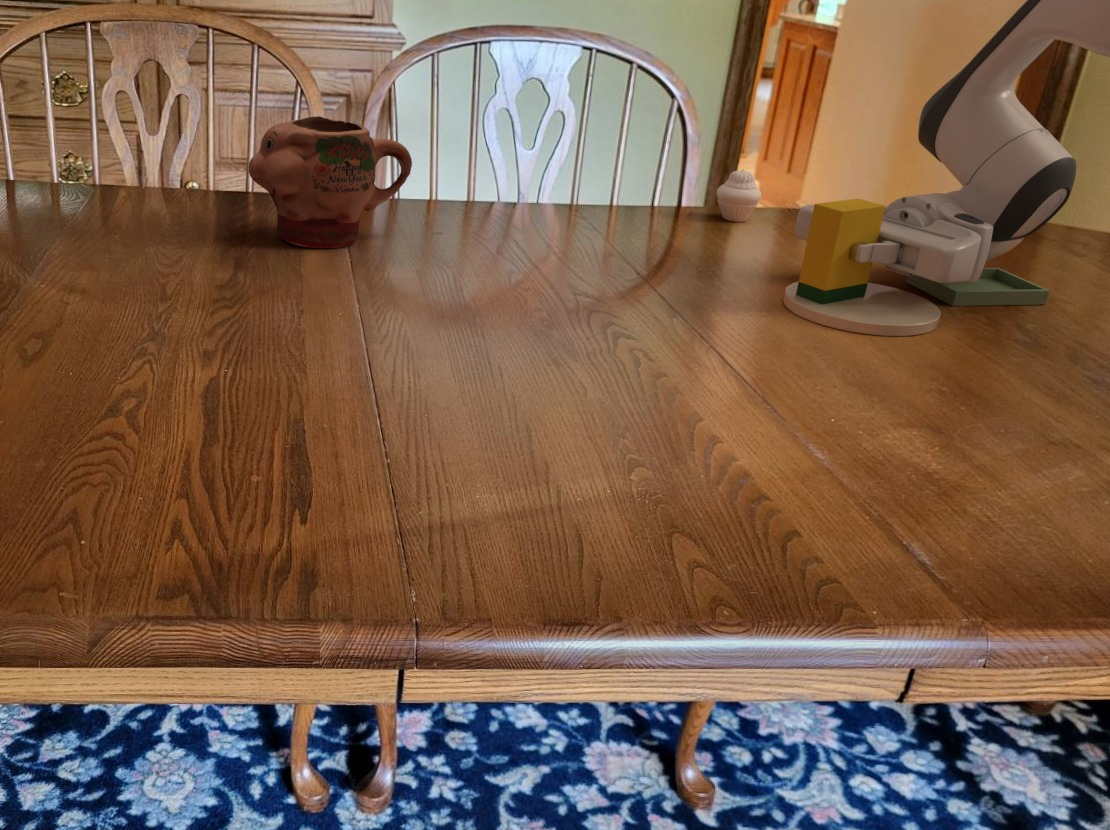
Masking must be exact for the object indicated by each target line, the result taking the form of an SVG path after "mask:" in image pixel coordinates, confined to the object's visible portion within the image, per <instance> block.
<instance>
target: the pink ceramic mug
mask: <svg viewBox="0 0 1110 830" xmlns="http://www.w3.org/2000/svg"><path fill="white" fill-rule="evenodd" d="M260 143H261V144H260V147H259V149H258V152H257V153H256V154H254V155H253V156H252V157H251V159H250V160H249V162H248V174H249V176H250V178H251V179H252V181H253V182H255V183H256V184H257V185H259V186H260V187H261V188H263V189H264V190H265V191H266V192H267V193H268V194H269V195H270V197H271V199H272V201H273V203H274V206H275V208H276V213H277V220H276V232H277V235H278V237H279V238H280V239H282V240H284V241H285V242H286V243H289V244H291V245H292V244H293V245H295V246H300V247H303V248H312V249H314V248H315V249H331V248H332V249H334V248H335V249H336V248H344V247H345V248H346V247H350V246H352V244H354V243H355V242H356V241H357V238H358V235H359V229H360V224H361V223H360V222H361V213H362V210H364V211H366V212H371V211H373V210H374V209H376V208H377V207H379V206H380V205H382V204H383V203H385V202H387V201H388V200H389V199H391V198H392V197H393V196H394V195H395V194H396V193H398V192H399V191H400V189H401V188H402V186H403V185H404V184H405V183H406V181H407V179H408V177H409V176H410V175H411V171H412V167H413V160H412V157H411V153H410V152H409V150H408V149H407V148H406V146H404V145H403V144H402V143H400V142H399V141H396V140H393V139H389V138H372V137H371V134H370V131H369V128H366V127H365V126H363V125H362V124H359V123H353V122H349V121H346V120H337V119H330V118H327V117H322V116H319V115H318V116H317V115H316V116H309V117H304V118H298V119H293V120H289V121H286V122H280V123H277V124H274V125H273V126H270V127H269V128H268V129H267V130H266V132H265V133H264V134H263V136H262V138H261V142H260ZM384 157H392V158H394V159H395V160H396V161H397V162H398V164H399V166H400V167H399V168H400V173H399V175H398V177H397V178H396V179H395V181H394V182H393V183H392V184H391V185H390V186H388V187H386V188H379V187H378V186H377V185H376V184H375V183H376V178H377V176H376V175H377V173H376V170H377V169H376V167H377V164H378V162H379V161H380V160H381V159H382V158H384Z"/></svg>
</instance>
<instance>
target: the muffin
mask: <svg viewBox="0 0 1110 830" xmlns="http://www.w3.org/2000/svg"><path fill="white" fill-rule="evenodd" d="M716 197H717V204H718V207H719V210H720V213H721V216H722V219H724V220H726V221H729V222H735V223H736V222H737V223H742V222H746V221H747V220H748V219H749V217H750V216H751V215H752V214H753V212H754V211H755V210H756V208H757V207H758V206H759V204H758V203H759V202H760V201H761V199H762V192H761V190H760V189H759V188H758V185H757V183H756V176H755V175H754V173H752V172H750V171H747V170H745V169H744V168H743V169H742V170H741V169H740V170H739V169H738V170H734V171H732V172H731V173H730V174H729V176H728V179H727V180H725V182H724V184H721V185H719V187H717V190H716Z"/></svg>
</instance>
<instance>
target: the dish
mask: <svg viewBox="0 0 1110 830" xmlns="http://www.w3.org/2000/svg"><path fill="white" fill-rule="evenodd" d="M905 282H906V283H907V284H909V285H910V286H912V287H915V288H917V289H918V290H921V291H922V292H923V293H924V292H925V293H926V294H928V295H930V296H932V297H934V298H936V299H938V300H940V301H942V302H944V303H945V304H948V305H950V306H952V307H972V306H973V307H979V306H980V307H981V306H982V307H983V306H984V307H985V306H986V307H987V306H1039V305H1040V304H1041V305H1040V306H1046V305H1047V301H1048V298H1049V295H1050V292H1051V290H1050V289H1047V288H1045V287H1043V286H1041V285H1038V284H1037V283H1034V282H1032V281H1029V280H1028V279H1025V278H1022V277H1020V276H1018V275H1016V274H1013V273H1011V272H1009V271H1007V270H1004V269H1002V268H1000V267H984V268H983V270H982V273H981V275H980V278H979V280H978V282H975V283H969V284H966V283H962V282H960V283H940V282H935V281H932V280H929V279H926V278H923V277H920V276H917V275H912V276H906V281H905ZM1045 304H1046V305H1045Z"/></svg>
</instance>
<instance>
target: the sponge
mask: <svg viewBox="0 0 1110 830" xmlns="http://www.w3.org/2000/svg"><path fill="white" fill-rule="evenodd" d="M813 205H814V210H813V214H812V219H811V224H810V229H809V234H808V239H807V240H806V244H805V249H804V252H803V259H802V263H801V268H800V274H799V279H798V281H799V282H798V281H797V282H798V287H797V292H796V295H798V296H800V297H803V298H806V299H809V300H811V301H814V302H817V303H820V304H827V303H832V302H837V301H843V300H848V299H853V298H859V297H864V296H865V293H866V289H867V284H868V283H869V279H870V276H871V270H872V266H873V263H874V262H863V263H860V262H856V261H853V260H851V259H849V253H850V248H851V245H852V244H853V243H858V242H865V243H877V241H878V237H879V233H880V228H881V224H882V220H883V216H884V211H885V208H886V207H887V206H886V205H885V204H881V203H877V202H873V201H869V200H866V199H861V198H852V199H842V200H835V201H834V200H833V201H827V202H819V203H814V204H813Z"/></svg>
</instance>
